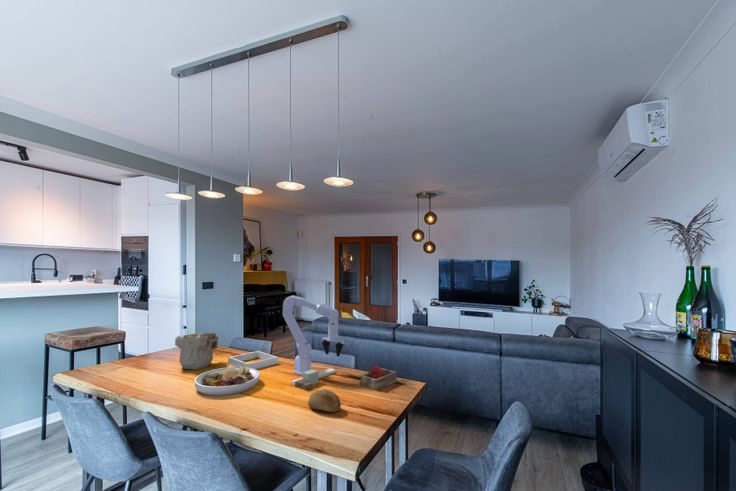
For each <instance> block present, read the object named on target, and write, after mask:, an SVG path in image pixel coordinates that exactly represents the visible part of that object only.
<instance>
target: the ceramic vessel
mask: <svg viewBox="0 0 736 491" xmlns="http://www.w3.org/2000/svg"><path fill="white" fill-rule="evenodd" d="M174 342H175V343H174V346H176V347H178V348H180V349H179V350H180V352H179V364H180V366H181V367H182V369H185V370H202V369H205V368H206V367H208V366H209V365H210V364H211V363H212V362H213V359H214V355H213V354H214V351H215V350H216V349H218V343H219V336H218V335H217V334H216V333H215V331H213V332H207V331H205V332H200V333H199V332H198V333H190V334H185V335H183V336H182V335H181V336H180V335H178V336H176V337H175V340H174Z"/></svg>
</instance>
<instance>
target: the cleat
mask: <svg viewBox="0 0 736 491" xmlns="http://www.w3.org/2000/svg"><path fill="white" fill-rule="evenodd" d="M294 387H295V388H298V389H300V390H304V391H309V390H312V389H313V385H312V383H311V382H308V381H305V380H302V379H300V380H297V381H295V385H294Z"/></svg>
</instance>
